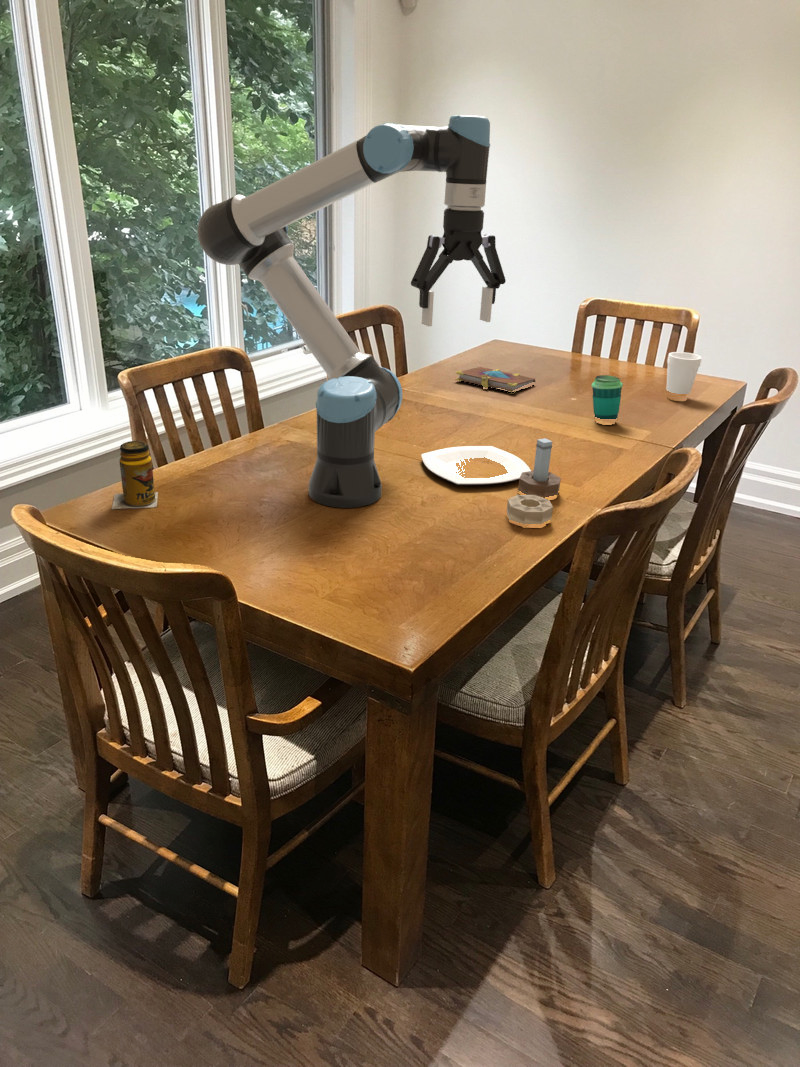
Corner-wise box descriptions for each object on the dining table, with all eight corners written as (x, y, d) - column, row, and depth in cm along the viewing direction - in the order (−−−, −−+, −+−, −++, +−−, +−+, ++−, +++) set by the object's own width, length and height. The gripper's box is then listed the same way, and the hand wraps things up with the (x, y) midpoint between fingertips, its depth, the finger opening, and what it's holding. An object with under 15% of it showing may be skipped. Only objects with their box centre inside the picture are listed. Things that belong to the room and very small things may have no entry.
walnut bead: (534, 504, 170) (536, 488, 169) (511, 489, 177) (512, 474, 175) (565, 497, 174) (568, 482, 172) (542, 483, 180) (543, 468, 179)
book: (468, 374, 267) (470, 359, 265) (536, 389, 254) (538, 373, 252) (440, 381, 254) (442, 365, 252) (509, 398, 241) (512, 381, 239)
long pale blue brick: (530, 492, 176) (536, 439, 170) (539, 491, 177) (545, 438, 171) (537, 496, 174) (543, 443, 169) (545, 494, 175) (552, 441, 170)
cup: (605, 428, 218) (611, 384, 212) (580, 420, 223) (586, 377, 218) (622, 423, 223) (630, 379, 217) (598, 415, 228) (604, 372, 223)
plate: (408, 459, 192) (408, 451, 191) (494, 449, 200) (495, 442, 200) (452, 496, 173) (452, 488, 172) (545, 484, 181) (546, 475, 181)
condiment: (156, 507, 161) (151, 450, 156) (111, 510, 160) (104, 452, 154) (158, 493, 168) (152, 437, 163) (114, 495, 166) (107, 439, 161)
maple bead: (534, 532, 158) (536, 515, 156) (499, 519, 163) (500, 502, 161) (557, 520, 163) (559, 503, 162) (522, 507, 168) (524, 491, 167)
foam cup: (696, 398, 247) (705, 355, 242) (688, 405, 240) (697, 361, 235) (665, 392, 252) (673, 350, 246) (656, 399, 245) (664, 355, 239)
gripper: (416, 209, 145) (410, 330, 154) (530, 209, 156) (518, 322, 165) (396, 206, 151) (391, 322, 160) (507, 206, 162) (497, 315, 171)
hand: (456, 323), depth 163 cm, fingers open, 13 cm apart
